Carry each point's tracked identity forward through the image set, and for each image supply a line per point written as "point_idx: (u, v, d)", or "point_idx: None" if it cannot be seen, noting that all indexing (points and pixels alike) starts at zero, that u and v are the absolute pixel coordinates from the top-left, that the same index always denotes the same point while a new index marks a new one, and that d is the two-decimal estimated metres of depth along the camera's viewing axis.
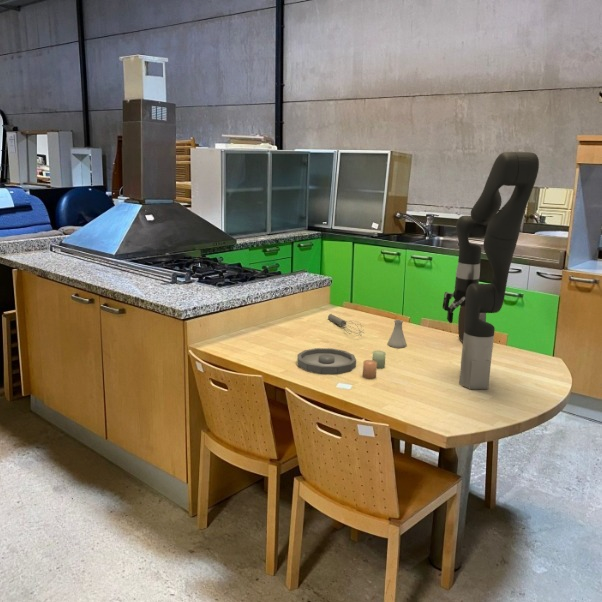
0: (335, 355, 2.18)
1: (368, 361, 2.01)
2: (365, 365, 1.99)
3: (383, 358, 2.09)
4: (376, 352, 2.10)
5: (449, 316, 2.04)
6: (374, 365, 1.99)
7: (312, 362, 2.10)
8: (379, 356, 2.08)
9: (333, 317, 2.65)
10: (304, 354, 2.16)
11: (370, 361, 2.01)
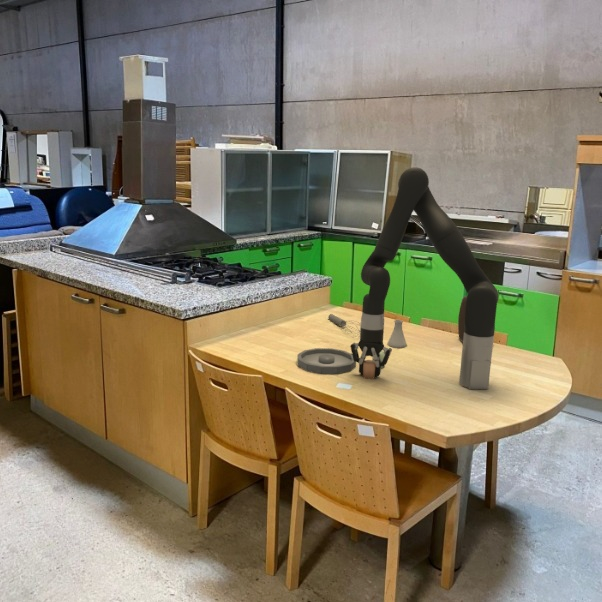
0: (335, 355, 2.18)
1: (368, 361, 2.01)
2: (365, 365, 1.99)
3: None
4: None
5: None
6: (374, 365, 1.99)
7: (312, 362, 2.10)
8: None
9: (333, 317, 2.65)
10: (304, 354, 2.16)
11: (370, 361, 2.01)
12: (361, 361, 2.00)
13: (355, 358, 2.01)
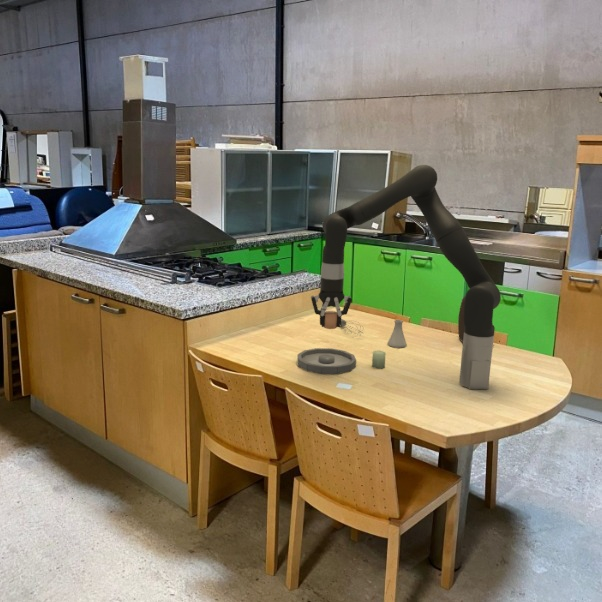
0: (335, 355, 2.18)
1: (328, 312, 2.02)
2: (328, 316, 2.00)
3: (383, 358, 2.09)
4: (376, 352, 2.10)
5: None
6: (336, 315, 2.01)
7: (312, 362, 2.10)
8: (379, 356, 2.08)
9: None
10: (304, 354, 2.16)
11: (330, 312, 2.03)
12: (323, 313, 2.00)
13: (317, 310, 2.00)
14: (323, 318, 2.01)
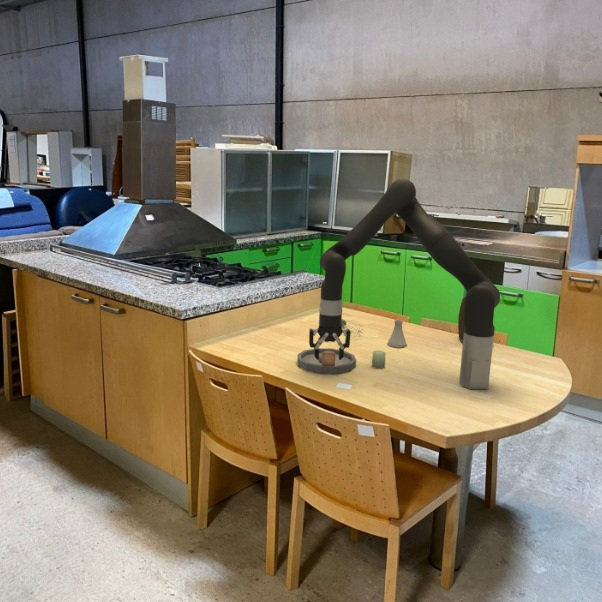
0: (335, 355, 2.18)
1: (326, 352, 2.05)
2: (326, 356, 2.03)
3: (383, 358, 2.09)
4: (376, 352, 2.10)
5: None
6: (334, 355, 2.04)
7: (312, 362, 2.10)
8: (379, 356, 2.08)
9: None
10: (304, 354, 2.16)
11: (328, 352, 2.06)
12: (317, 346, 2.03)
13: (312, 344, 2.03)
14: (318, 351, 2.04)
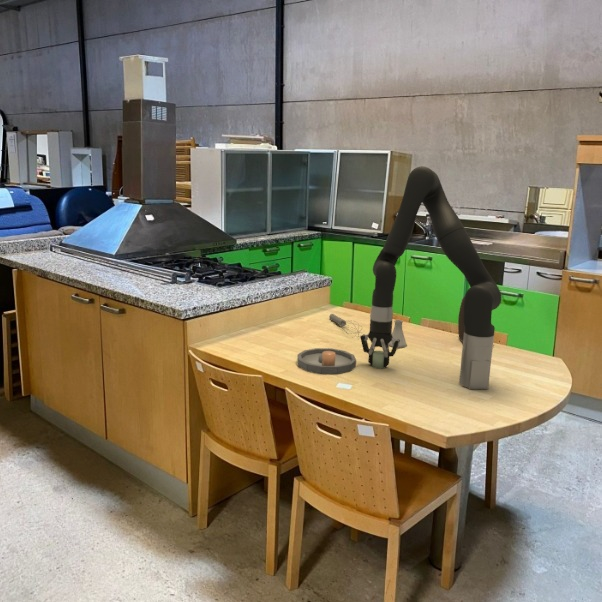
0: (335, 355, 2.18)
1: (326, 352, 2.05)
2: (326, 356, 2.03)
3: (383, 358, 2.09)
4: (376, 352, 2.10)
5: None
6: (334, 355, 2.04)
7: (312, 362, 2.10)
8: (379, 356, 2.08)
9: (334, 317, 2.65)
10: (304, 354, 2.16)
11: (328, 352, 2.06)
12: (371, 352, 2.10)
13: (365, 349, 2.11)
14: (371, 357, 2.11)
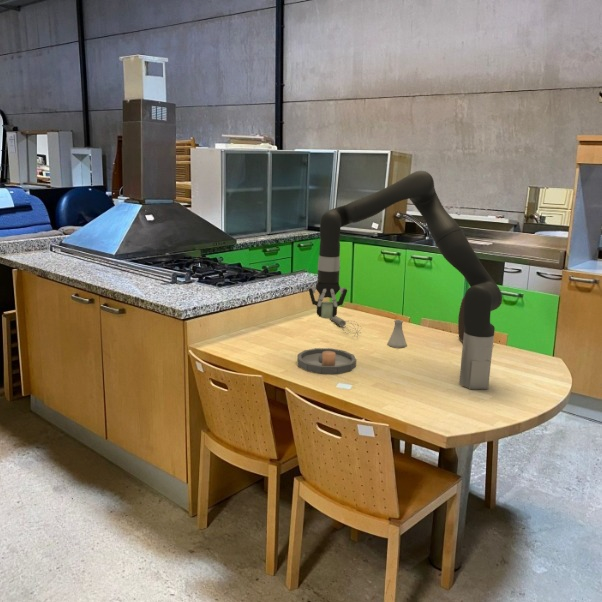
0: (335, 355, 2.18)
1: (326, 352, 2.05)
2: (326, 356, 2.03)
3: (332, 308, 2.13)
4: (324, 303, 2.13)
5: None
6: (334, 355, 2.04)
7: (312, 362, 2.10)
8: (329, 306, 2.11)
9: (334, 317, 2.65)
10: (304, 354, 2.16)
11: (328, 352, 2.06)
12: (320, 303, 2.12)
13: (314, 301, 2.11)
14: (320, 308, 2.12)
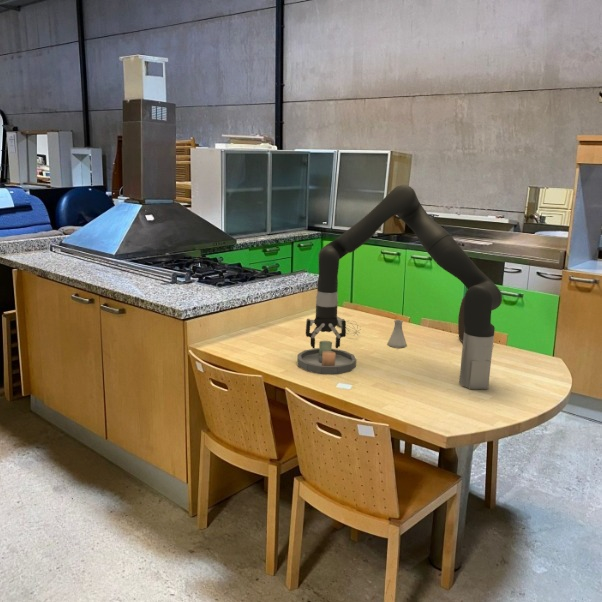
0: (335, 355, 2.18)
1: (326, 352, 2.05)
2: (326, 356, 2.03)
3: (331, 347, 2.16)
4: (323, 342, 2.16)
5: None
6: (334, 355, 2.04)
7: (312, 362, 2.10)
8: (328, 345, 2.15)
9: None
10: (304, 354, 2.16)
11: (328, 352, 2.06)
12: (313, 335, 2.14)
13: (308, 333, 2.14)
14: (313, 340, 2.15)
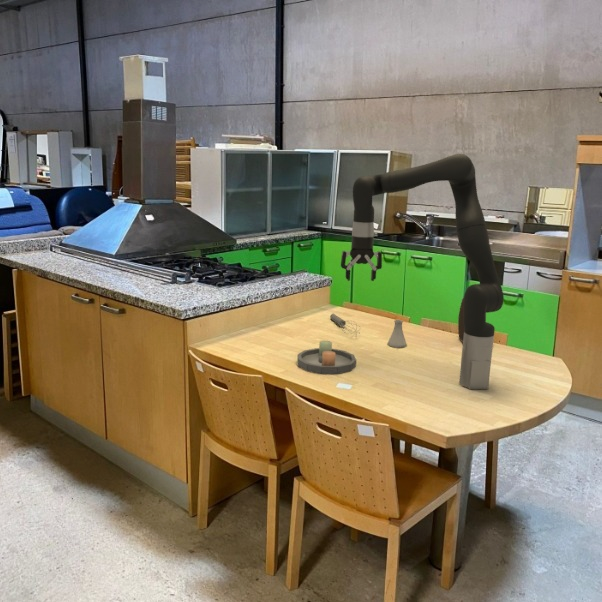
0: (335, 355, 2.18)
1: (326, 352, 2.05)
2: (326, 356, 2.03)
3: (331, 347, 2.16)
4: (323, 342, 2.16)
5: None
6: (334, 355, 2.04)
7: (312, 362, 2.10)
8: (328, 345, 2.14)
9: (334, 317, 2.65)
10: (304, 354, 2.16)
11: (328, 352, 2.06)
12: (349, 267, 2.13)
13: (343, 265, 2.12)
14: (349, 272, 2.13)
